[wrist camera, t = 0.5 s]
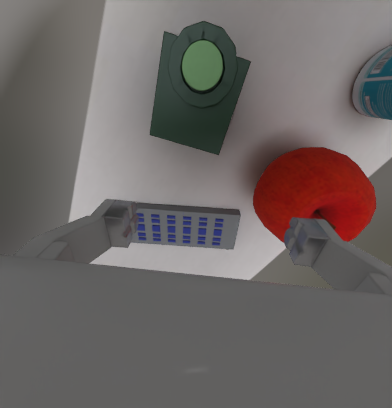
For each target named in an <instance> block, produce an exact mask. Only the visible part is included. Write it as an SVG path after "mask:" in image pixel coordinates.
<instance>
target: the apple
mask: <svg viewBox="0 0 392 408" xmlns="http://www.w3.org/2000/svg"><path fill="white" fill-rule="evenodd" d="M253 206H254V209H255V213H256V214H257V216H258V217H259V219H260V220H261V222H262V223H263V225H264V226H265V227H266V228H267V229H268V230H269V231H271V232H272V233H273V234H274V235H275V236H276V237H277V238H278V239H280V240H281V241H282V242H284V235H285V232H286V230H287V229H289V228H290V224H289V222H290V220H291V219H292V218H293V217H297V218H310V219H324V220H326V221H327V222H328V223H329V225H330V226H331V227H332V228H333V229H334V231H335V232H336V233H337V234H338V235H339V236H340V238H341V239H342V240H343V241H347V242H349V241H350V240H352V239H354V238H356V237H357V236H358V234H359V233H360V232H361V231H362V230H363V229H364V228H365V227H366V226H367V225H368V224H369V223H370V221H371V219H372V216H373V214H374V212H375V209H376V197H375V191H374V187H373V186H372V184H371V182H370V181H369V179H368V178H367V177H366V175H365V174H364V172H363V171H362V170H361V168H360V167H359V166H358V165H357V164H356V163H355V162H354V161H353V160H351V159H350V158H349V157H348V156H346V155H344V154H341V153H338V152H336V151H333V150H330V149H327V148H324V147H310V148H300V149H297V150H293V151H290V152H287V153H285V154H283V155H281V156H280V157H278V158H276V159H275V160H274V161H272V162H271V163H270V164H269V165H268V167H267V168H266V169H265V171H264V172H263V174H262V175H261V177H260V179H259V181H258V183H257V186H256V188H255V190H254V196H253Z"/></svg>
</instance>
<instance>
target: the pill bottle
mask: <svg viewBox="0 0 392 408" xmlns="http://www.w3.org/2000/svg"><path fill="white" fill-rule="evenodd" d="M352 98H353V103H354V106H355V108H356V109H357V110H358V111H359V112H360V113H361V114H363V115H365V116H369V117H375V118H381V119H388V120H392V45H390V46H388V47H386V48H385V49H383V50H381V51H380V52H378V53H377V54H376V55H374V56H373V57H372V58H371V59H370V60H369V61H368V62H367V63H366V65H365V66H364V67H363V68H362V70H361V71H360V73H359V75H358V77H357V79H356V81H355V84H354V87H353V93H352Z"/></svg>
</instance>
